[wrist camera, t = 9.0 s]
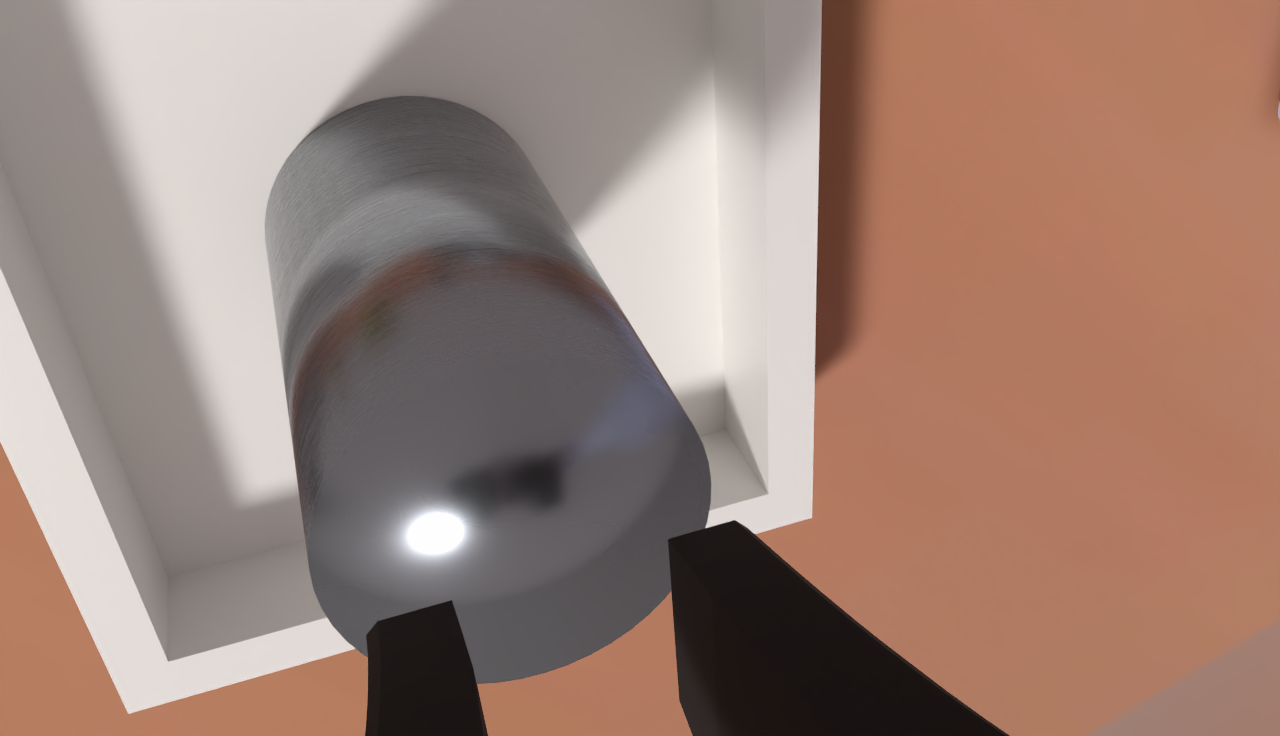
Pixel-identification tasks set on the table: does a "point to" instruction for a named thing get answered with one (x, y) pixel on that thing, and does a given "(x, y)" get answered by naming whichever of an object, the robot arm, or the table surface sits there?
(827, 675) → the robot arm
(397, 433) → the cylinder
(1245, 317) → the table surface
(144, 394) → the tray
